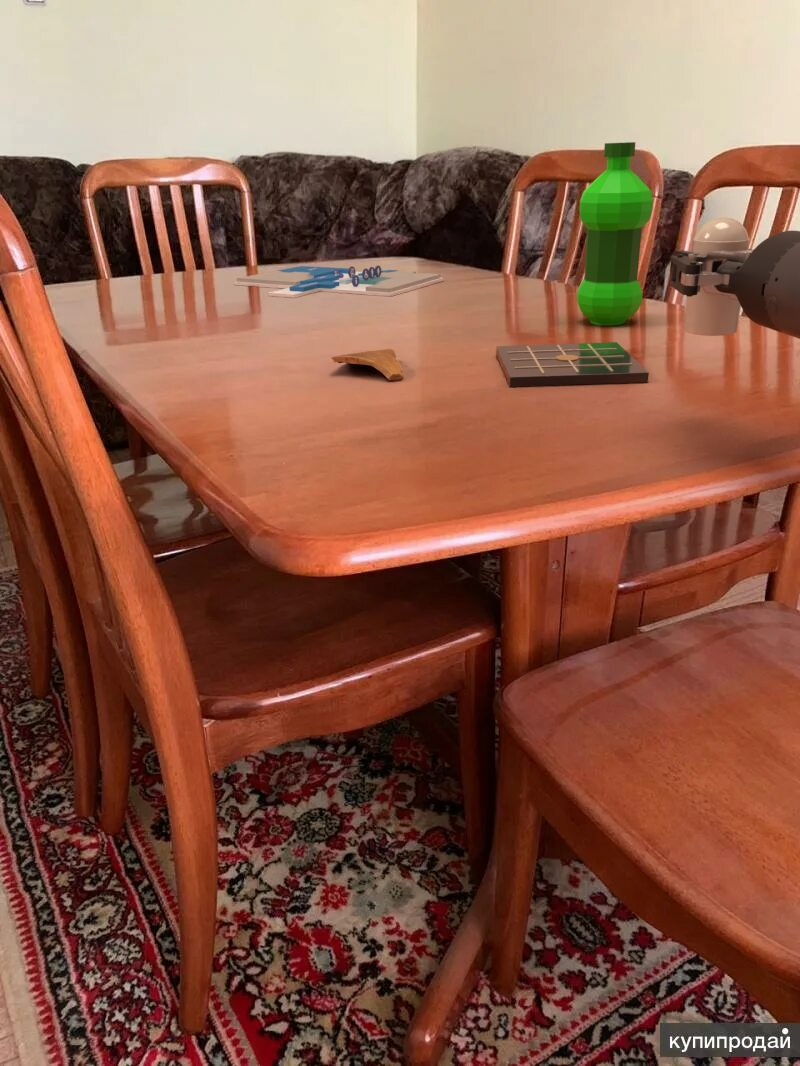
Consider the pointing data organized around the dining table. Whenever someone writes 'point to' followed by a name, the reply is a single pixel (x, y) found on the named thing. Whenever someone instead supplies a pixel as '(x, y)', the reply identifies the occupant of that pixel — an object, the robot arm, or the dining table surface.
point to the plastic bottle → (613, 239)
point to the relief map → (339, 281)
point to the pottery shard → (375, 362)
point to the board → (569, 364)
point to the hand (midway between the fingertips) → (703, 260)
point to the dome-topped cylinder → (711, 309)
